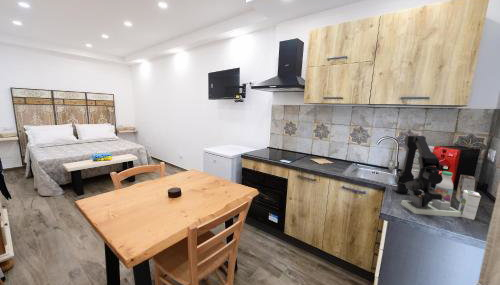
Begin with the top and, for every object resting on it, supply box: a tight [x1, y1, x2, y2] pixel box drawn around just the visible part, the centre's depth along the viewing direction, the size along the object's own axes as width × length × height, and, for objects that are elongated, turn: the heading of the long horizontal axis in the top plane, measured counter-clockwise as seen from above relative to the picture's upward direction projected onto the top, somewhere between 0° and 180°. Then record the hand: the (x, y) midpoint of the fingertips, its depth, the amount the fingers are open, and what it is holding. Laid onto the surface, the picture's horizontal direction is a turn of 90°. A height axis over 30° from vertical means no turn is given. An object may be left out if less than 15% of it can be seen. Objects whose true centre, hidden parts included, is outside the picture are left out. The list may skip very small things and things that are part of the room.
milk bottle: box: [433, 170, 454, 203], centre depth 123 cm, size 8×8×20 cm
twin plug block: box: [432, 199, 452, 211], centre depth 112 cm, size 5×5×7 cm
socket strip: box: [400, 199, 461, 218], centre depth 113 cm, size 11×23×4 cm, turn 87°
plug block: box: [411, 194, 428, 209], centre depth 112 cm, size 5×5×7 cm
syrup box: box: [457, 190, 482, 221], centre depth 107 cm, size 6×6×14 cm
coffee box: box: [455, 174, 479, 203], centre depth 129 cm, size 9×6×16 cm
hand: (419, 204), depth 113 cm, fingers closed on plug block, 5 cm apart
